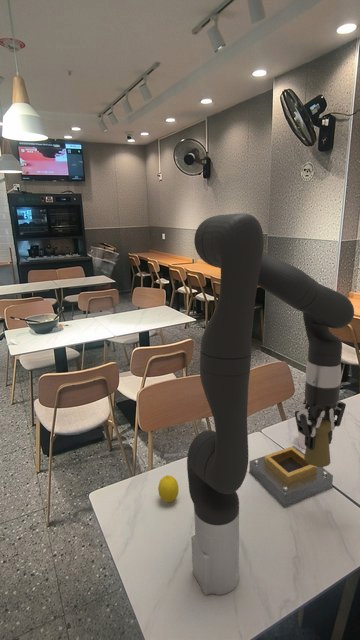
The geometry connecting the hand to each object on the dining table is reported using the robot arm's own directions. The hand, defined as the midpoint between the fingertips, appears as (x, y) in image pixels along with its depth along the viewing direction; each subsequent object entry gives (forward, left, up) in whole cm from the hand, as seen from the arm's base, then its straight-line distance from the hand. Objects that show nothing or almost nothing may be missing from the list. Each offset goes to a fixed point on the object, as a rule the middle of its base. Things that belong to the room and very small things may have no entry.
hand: (318, 445), depth 89 cm
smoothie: (+20, +25, -21) cm, 39 cm away
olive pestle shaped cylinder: (0, 0, -4) cm, 4 cm away
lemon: (-31, +22, -21) cm, 44 cm away
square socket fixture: (+4, +14, -21) cm, 26 cm away
